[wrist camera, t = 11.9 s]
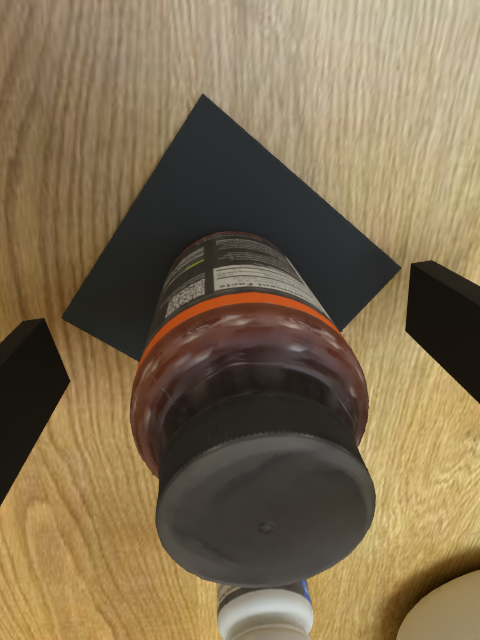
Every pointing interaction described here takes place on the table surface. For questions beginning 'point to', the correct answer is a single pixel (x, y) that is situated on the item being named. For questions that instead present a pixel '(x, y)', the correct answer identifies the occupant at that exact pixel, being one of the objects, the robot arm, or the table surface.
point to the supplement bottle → (251, 419)
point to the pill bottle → (264, 612)
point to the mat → (219, 216)
